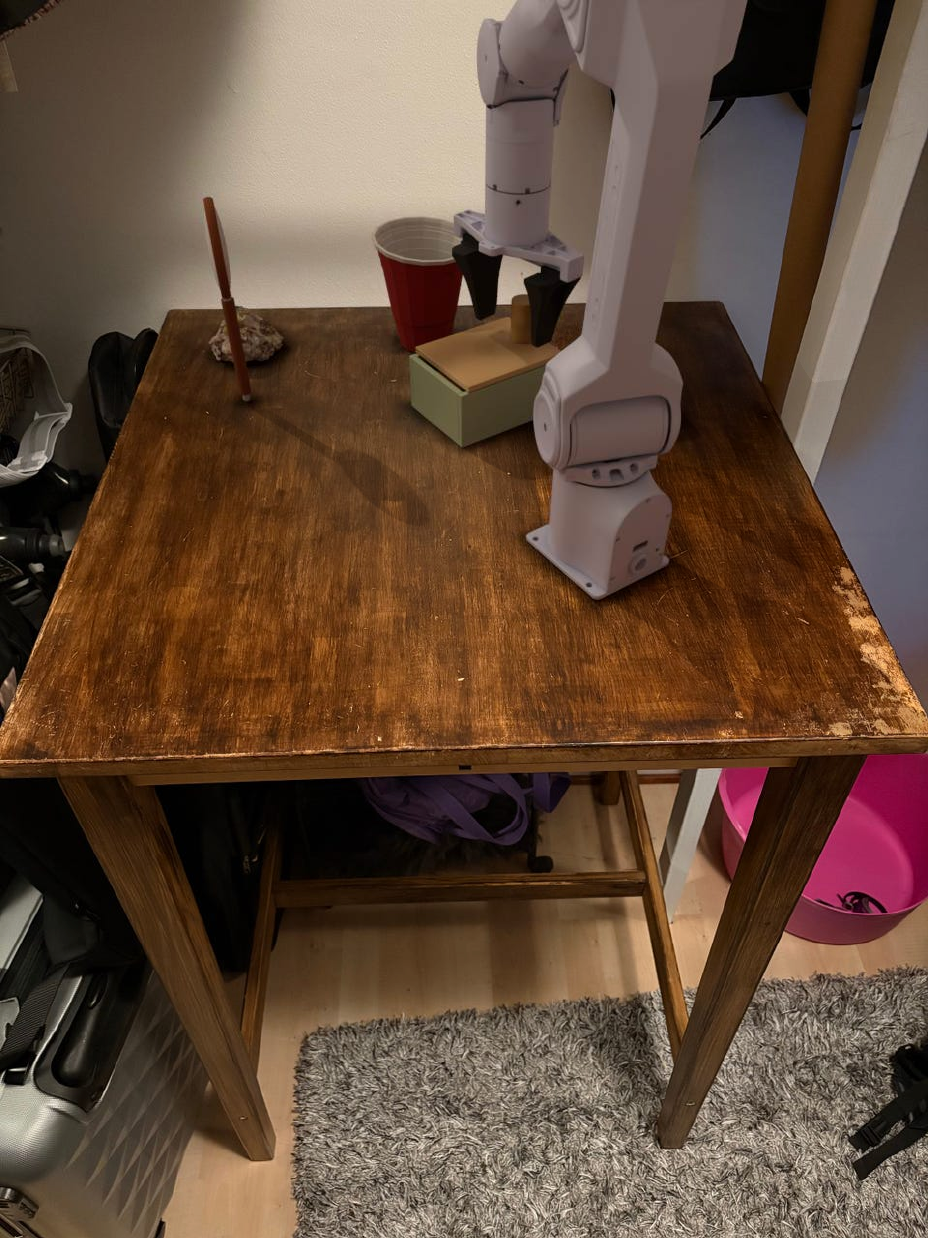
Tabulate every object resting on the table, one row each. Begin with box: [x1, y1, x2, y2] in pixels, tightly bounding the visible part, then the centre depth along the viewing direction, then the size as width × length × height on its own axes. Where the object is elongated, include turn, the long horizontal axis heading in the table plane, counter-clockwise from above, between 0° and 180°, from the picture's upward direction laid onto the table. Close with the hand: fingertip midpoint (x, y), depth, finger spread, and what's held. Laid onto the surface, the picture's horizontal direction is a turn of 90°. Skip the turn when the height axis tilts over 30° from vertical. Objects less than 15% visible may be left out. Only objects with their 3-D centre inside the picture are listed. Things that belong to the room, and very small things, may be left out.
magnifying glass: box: [202, 196, 252, 402], centre depth 86 cm, size 9×2×20 cm, turn 14°
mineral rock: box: [207, 305, 285, 363], centre depth 101 cm, size 11×4×8 cm
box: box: [408, 353, 546, 449], centre depth 90 cm, size 9×11×6 cm
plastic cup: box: [370, 216, 464, 354], centre depth 98 cm, size 11×11×12 cm
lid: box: [415, 293, 562, 392], centre depth 87 cm, size 9×11×5 cm
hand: (513, 329), depth 88 cm, fingers open, 7 cm apart
